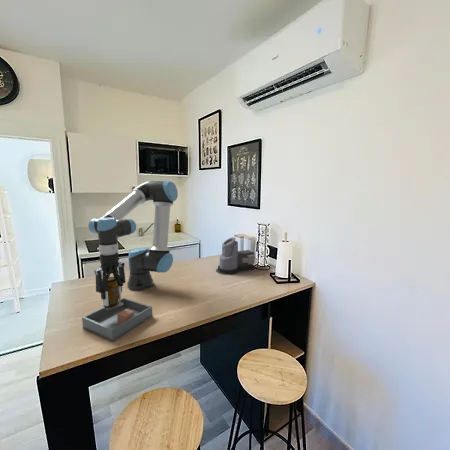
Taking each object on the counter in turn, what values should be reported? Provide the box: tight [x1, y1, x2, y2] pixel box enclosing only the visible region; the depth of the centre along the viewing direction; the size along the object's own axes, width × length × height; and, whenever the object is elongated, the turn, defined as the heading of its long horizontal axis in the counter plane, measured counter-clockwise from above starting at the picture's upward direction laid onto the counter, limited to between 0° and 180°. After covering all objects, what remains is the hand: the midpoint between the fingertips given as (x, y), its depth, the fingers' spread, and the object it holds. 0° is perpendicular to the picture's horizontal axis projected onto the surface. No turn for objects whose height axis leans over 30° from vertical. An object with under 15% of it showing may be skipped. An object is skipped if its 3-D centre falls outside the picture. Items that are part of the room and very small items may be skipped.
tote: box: [81, 297, 153, 342], centre depth 111 cm, size 20×22×5 cm
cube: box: [117, 309, 134, 324], centre depth 109 cm, size 5×5×5 cm
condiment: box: [99, 276, 123, 310], centre depth 110 cm, size 7×8×12 cm
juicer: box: [215, 236, 258, 276], centre depth 179 cm, size 30×16×24 cm, turn 113°
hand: (112, 302), depth 112 cm, fingers closed on condiment, 6 cm apart
